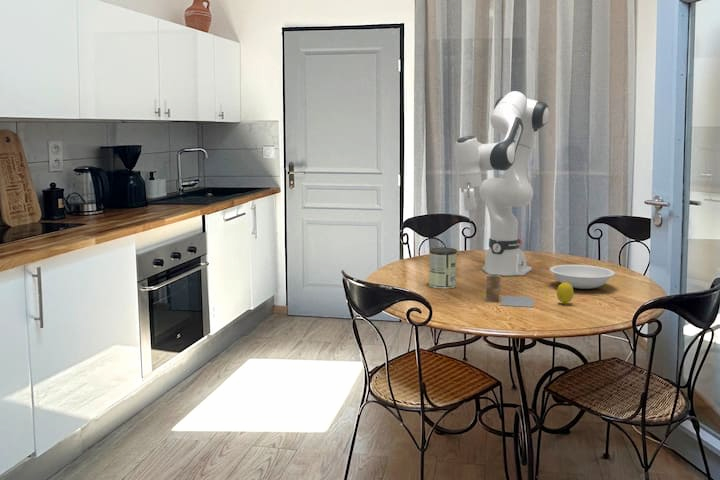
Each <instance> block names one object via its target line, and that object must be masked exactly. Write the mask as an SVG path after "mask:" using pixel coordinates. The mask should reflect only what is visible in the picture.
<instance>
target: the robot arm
mask: <svg viewBox="0 0 720 480" xmlns="http://www.w3.org/2000/svg"><path fill="white" fill-rule="evenodd" d="M549 115H550V107H549V105H548V104H547V103H546V102H544V101H541V100H535V99H532V98H527V97H526V95H525V94H523V93H522V92H521V91H519V90H518V91H516V90H514V91H509V92H507V94H505V95H504V96H501V97H499V98H498V99H497V100H496V101H495V104H494V107H493V110H492V112H491V114H490V118H489V120H490V124H491V127H492V129H494V131H495V132H496V133H497V134H500V135H501V136H505V137H504V139H503V140H501V141H499V142H492V143H491V142H490V143H482V142H480V141H478V139H477V136H475V135H466V136H462V137H459V138H458V139H457V140H456V141H455V143H454V144H455V145H454V161H455V166H456V188H458V189H460V191H461V193H463V205H464V210H465V211H468V215H469V218H468V219H469V222H472V221H473V222H474V221H475V220H476V208H477V206H478V204H479V203H478V201H479V197H480V198H481V200H483V202H484V204H485V206H486V208H487V211H488V214H489V221H490V223H489V224H490V232H489V233H490V234H489V235H490V237H489V238H488V247H489V249H487V250H486V253H485V260H484V266H482V268H481V270H483V271H484V272H485V273H486V274H500V276H509V277H510V276H525V275H526V274H528V273H530V271H532V269H533V268H532V266H528V265H527V256H526V254H525V253H524V252H523V251H522V250H521V249H520V245H521V244H522V243H523V240H522V238H518V233H519V232H518V231H519V230H518V229H519V221H518V218H517V217H516V216H515V215H514V214H513V212H512V209H511V208H512V207H513V208H519V207H520V208H522V207H526V206H528V205H529V204H531V202H532V200H533V199H534V198H533V197H534V190H533V187H532V185H531V184H530V182H529V179H528V165H529V161H530V158H531V154H532V153H531V152H532V150H533V146H534V140H535V134H536V133H535V132H537V131H538V130H540V129H542V128H543V127H544V126H545V125H546V124H547V122H548V120H549V117H550V116H549ZM482 171H504V178H501V177H491V178H490V177H489V178H486V179H484V180H483V178H482V177H483V176H482Z"/></svg>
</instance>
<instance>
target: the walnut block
mask: <svg viewBox="0 0 720 480" xmlns="http://www.w3.org/2000/svg"><path fill="white" fill-rule="evenodd" d="M500 286H501V275H500V274H489V273H486V285H485V287H486V288H485V290H486V291H485V302H488V303H489V302H491V303H500V294H501V293H500V292H501V291H500V290H501V287H500Z"/></svg>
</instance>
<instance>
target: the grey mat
mask: <svg viewBox="0 0 720 480" xmlns="http://www.w3.org/2000/svg"><path fill="white" fill-rule="evenodd" d="M500 300H501V301H500V305H499V306H501V307H502V306H503V307H518V308H519V307H521V308H534V297H532V296H531V297H530V296H519V295H518V296H512V295H501V298H500Z"/></svg>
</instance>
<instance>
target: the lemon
mask: <svg viewBox="0 0 720 480" xmlns="http://www.w3.org/2000/svg"><path fill="white" fill-rule="evenodd" d="M556 296H557V299H558V300H559V302H561V303H562V304H563V305H566V304H568V303H569V302H571V301H572V300H573V298H574V288H573V287H572V286H571V285H570V284H569V283H567V282H564V283H560V284H559V285H558V287H557V290H556Z"/></svg>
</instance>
